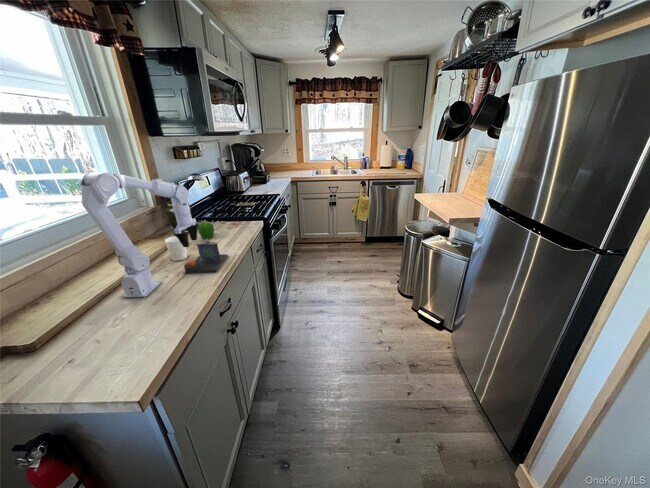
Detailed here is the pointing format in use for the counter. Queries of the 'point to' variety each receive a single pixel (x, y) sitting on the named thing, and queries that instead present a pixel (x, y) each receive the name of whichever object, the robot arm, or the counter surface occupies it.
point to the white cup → (176, 248)
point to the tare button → (191, 262)
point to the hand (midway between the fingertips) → (190, 243)
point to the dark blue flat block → (208, 251)
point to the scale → (205, 265)
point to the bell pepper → (206, 230)
